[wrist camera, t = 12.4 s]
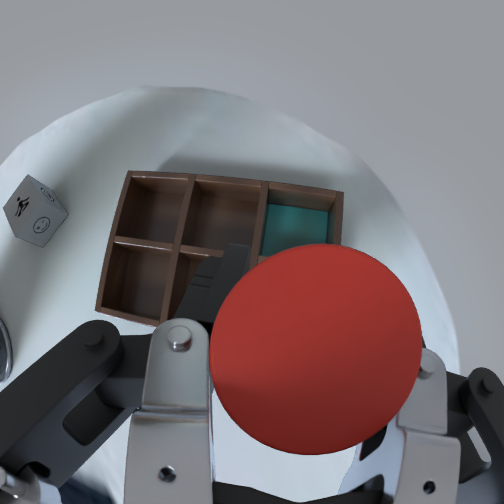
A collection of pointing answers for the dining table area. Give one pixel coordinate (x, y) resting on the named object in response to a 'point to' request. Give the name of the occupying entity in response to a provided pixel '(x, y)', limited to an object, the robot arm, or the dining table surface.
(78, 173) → the dining table surface
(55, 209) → the dice cube
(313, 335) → the red cylinder
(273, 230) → the grid
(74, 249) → the dining table surface
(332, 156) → the dining table surface
